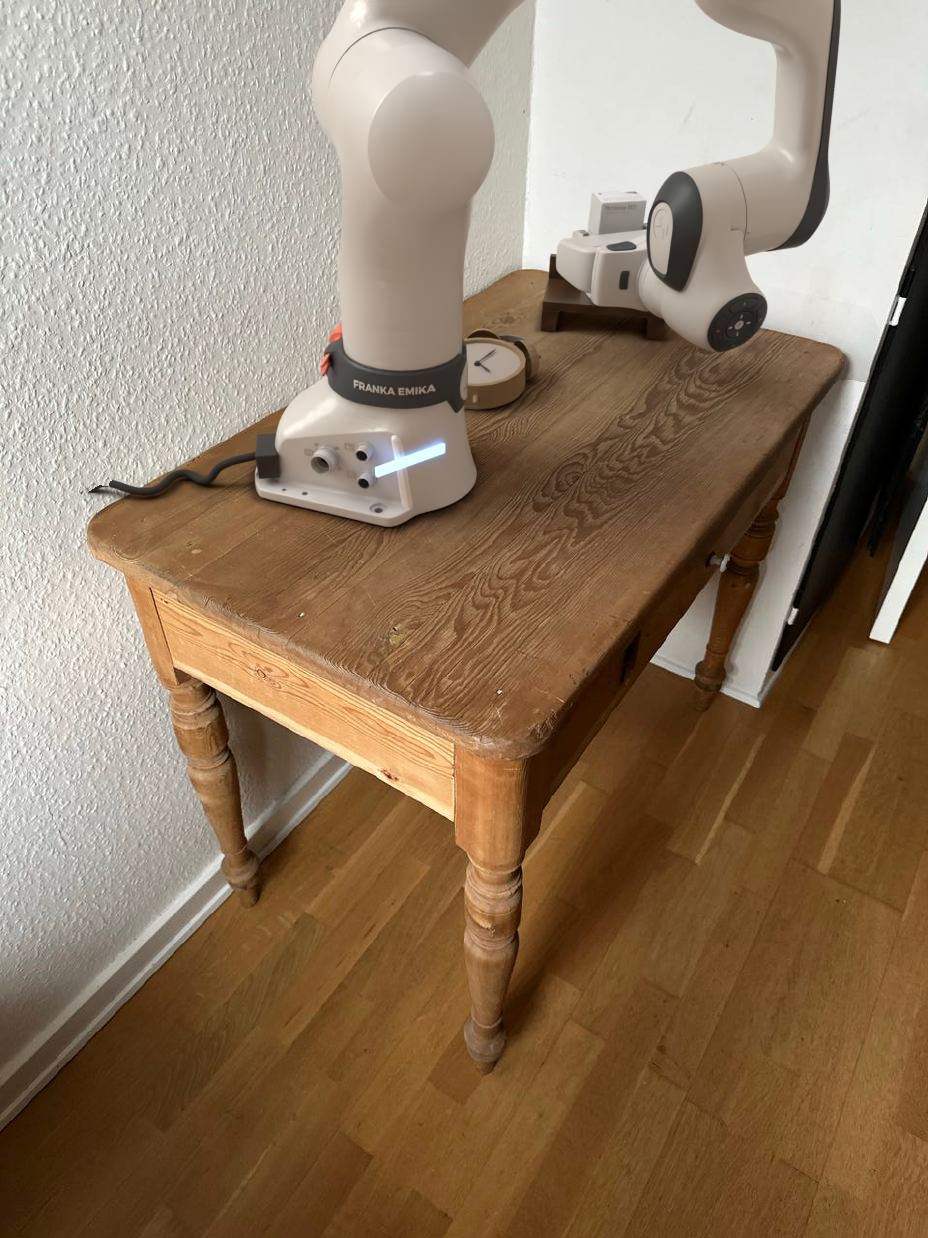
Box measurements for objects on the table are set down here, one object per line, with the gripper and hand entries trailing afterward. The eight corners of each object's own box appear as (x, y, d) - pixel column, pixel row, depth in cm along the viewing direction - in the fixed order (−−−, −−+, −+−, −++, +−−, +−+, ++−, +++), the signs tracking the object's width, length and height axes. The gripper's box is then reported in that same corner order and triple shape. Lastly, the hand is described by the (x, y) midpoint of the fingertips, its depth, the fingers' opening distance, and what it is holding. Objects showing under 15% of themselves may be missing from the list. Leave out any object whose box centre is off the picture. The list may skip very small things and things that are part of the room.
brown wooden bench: (540, 330, 120) (544, 277, 115) (546, 304, 127) (550, 253, 122) (662, 340, 118) (670, 287, 114) (661, 312, 125) (670, 261, 120)
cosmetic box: (590, 300, 118) (600, 202, 110) (579, 287, 121) (589, 191, 113) (635, 297, 119) (648, 199, 111) (623, 284, 122) (635, 188, 114)
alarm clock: (408, 369, 105) (482, 306, 112) (414, 404, 108) (485, 341, 116) (488, 397, 100) (559, 329, 107) (491, 433, 103) (560, 365, 111)
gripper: (746, 234, 106) (686, 199, 116) (589, 252, 101) (540, 214, 110) (735, 287, 110) (678, 249, 120) (583, 308, 105) (536, 266, 114)
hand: (610, 232), depth 115 cm, fingers open, 8 cm apart
